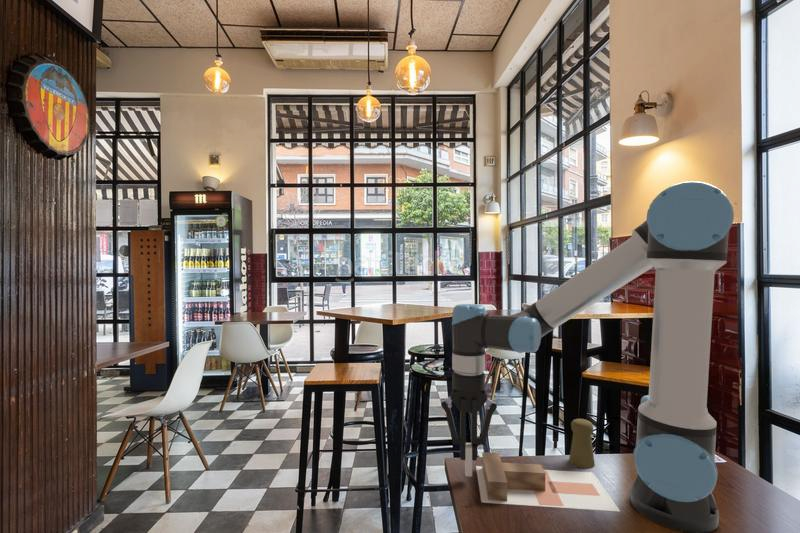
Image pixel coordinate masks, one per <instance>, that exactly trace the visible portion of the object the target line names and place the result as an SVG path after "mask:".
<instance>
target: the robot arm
mask: <svg viewBox="0 0 800 533" xmlns="http://www.w3.org/2000/svg"><path fill="white" fill-rule="evenodd" d="M734 213H735V212H734V207H733V204H732V203H731V200H730V199H729V198H728V196H727V194H726V193H724V192H723V190H721V189H720V188H718V187H716V186H715V185H712V184H710V183H707V182H703V181H696V180H695V181H683V182H678V183H676V184H673V185H670V186H669V187H667V188H665V189H664V190H663V191H660V193H658V194H657V195H656V197H654V199H652V201H651V203H650V204H649V208H648V209H647V212H646V220H645V221H644V222H642V223H641V224H640V225H639V226H637V227H635V228H634V229H633V230H632V232H631V236H630V238H628V239H627V240H625V241H624V242H622V243H621V244H619V245H617V247H615V248H613V249H612V250H610V251H609V252H607V253H605V254H604V255H603V256H602V257H600V258H598V259H597V260H596V261H594V262H593V263H591V264H589V265H588V266H587V267H585V268H583V269H582V270H580V271H579V272H578V273H577V274H575V275H573V276H572V277H571V278H569V279H568V280H566V281H564V282H563V283H562V284H561V285H559V286H557V287H556V288H555V289H553V290H552V291H549V293H547V294H546V295H544V296H543V297H541V298H539V299H538V300H537V301H535V302H534V303H532V304H530V305H529V306H527V307H526V308H524V309H523V310H522V311H520V312H516V313H514V314H511V315H498V314H497V315H495V314H489V313H487V311H486V307H485V306H484V305H482V304H475V303H465V304H464V303H461V304H456V305H454V307H453V309H452V318H451V320H452V322H451V326H452V327H451V328H452V330H451V331H452V332H451V333H452V339H451V340H452V353H451V355H452V356H451V363H452V364H451V366H452V367H451V369H452V370H453V372H452V375H451V378H452V379H451V381H452V383H451V386H452V387H451V391H450V394H449V396H448V397H447V398H442V399H441V400H440V404H441V405H440V406H441V407H442V409H443V411H444V412H445V416H446V420H447V423H448V428H449V432H450V436H451V441H452V443H453V444H455V445H458V446H459V447H460V448H459V456H460V460H461V461H464V475H465V477H473V461H477V459H478V447H479V446H484V445H485V444H486V441H487V438H488V433H489V429H490V425H491V423H492V422H491V421H492V418H493V417H492V416H493V414H494V413H495V411H496V409H497V408H498V406H497V402H496V401H495V400H491V399H490V398H488V394H487V392H486V374H485V371H486V349H493V350H502V351H506V352H507V351H508V352H516V353H518V354H519V353H520V354H523V353H530V354H533V353H536V352H537V351H538V350H539V347H540V345H541V340H542V338H543V337H544V336H546V335H547V334H548V333H550V332H552V331H554V329H556V328H558V327H559V326H562V325H563V324H564V323H566V322H567V321H569V320H571V319H573V317H575V316H577V315H578V314H581V313H582V312H583V311H585V310H587V309H588V308H590V307H591V306H593V305H594V304H596V303H598V302H599V301H601V300H603V299H604V298H607V296H610V295H611V294H613V293H614V292H615V291H616V292H617V290H619V289H621V288H622V287H624V286H625V285H627V284H628V283H630V282H632V281H633V280H635V279H636V278H638V277H640V276H641V275H643V274H645V273H646V272H648V271H649V270H651V269H652V268H654V270H655V278H654V280H655V281H654V294H653V295H654V296H653V313H652V314H653V315H652V330H651V331H652V332H651V347H650V348H651V350H650V363H649V364H650V365H649V366H650V367H649V381H648V382H649V384H648V385H649V386H648V387H649V388H648V394H647V395H643V396H642V397H641V399H640V404H639V406H638V408H637V410H638V411H637V425H636V440H635V442H636V443H635V448H634V449H633V454H632V455H633V456H632V457H633V463H634V466H635V469H636V471H637V473H636V475H635V477H634V480H633V482H632V485H631V487H630V503H631V505H632V507H634V509H635V510H636V511H637V512H639V513H640V514H641V515H642V516H643V517H644V518H647V519H648V520H650V521H652V522H654V523H657V524H659V525H661V526H664V527H666V528H669V529H671V530H676V531H680V532H684V533H685V532H686V533H710V532H713V531H715V530H717V529H718V527H719V521H720V519H719V518H720V517H719V515H720V512H719V510H718V506H717V504H716V500H715V497H714V495H713V491H714V490H715V488H716V484H717V480H718V476H719V474H718V468H717V465H716V458H715V457H716V442H717V423H718V422H717V420H715V418H714V417H713V416H712V415H711V414H710V413H709V411H708V407H707V404H708V392H709V391H708V389H709V388H708V386H709V370H710V355H711V341H712V340H711V338H712V320H713V304H714V290H715V273H716V272H717V270H720V268H721V267H723V266H724V265H726V264H727V262H728V260H727V259H728V246H729V235H730V234H729V232H730V229H731V228H732V225H733V223H734V219H735V218H734V217H735V216H734V215H735V214H734ZM452 403H453V404H454V406H455V407H456V409H457V410H458V411H459V436H458V432H457V429H456V425H455V421H454V417H453V412H452V409H451V408H452V405H453V404H452ZM484 405H485V413H484V417H483V420H482V424H481V427H480V428H481V429H480V432H479V436H478V412H479V411H480V410H481V409H482V407H483V406H484ZM467 413H470V425H471V426H470V428H471V429H470V434H471V435H470V438H471V439H470V441H471V442H466V440H467V423H466V420H467Z"/></svg>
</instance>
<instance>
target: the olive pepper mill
mask: <svg viewBox="0 0 800 533" xmlns="http://www.w3.org/2000/svg"><path fill="white" fill-rule="evenodd" d="M570 426H571V427H570V428H571V431H572V439H571V446H570V453H569V459H568V460H569V463H570V464H571V465H573V466H575V467H577V468H581V469H593V468H594V467H596V465H595V458H594V457H595V456H594V451H593V449H594V447H593V442H592V435H593V432H594V424H593V423H592V421H590V420H588V419H584V418H576V419H573V420H572V421H571V422H570Z"/></svg>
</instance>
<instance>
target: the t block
mask: <svg viewBox="0 0 800 533" xmlns="http://www.w3.org/2000/svg"><path fill="white" fill-rule="evenodd" d="M481 454H482V456H481V457H482V461H481V462H482V465H481V466H482V469H483V474H484V480H485V485H486V491H487V497H488V500H495V501H507V489H517V490H534V491H545V471H544V470H545V469H544V467H543V465H542V464H538V463H537V464H535V463H520V462H519V463H518V462H517V463H516V462H515V463H514V462H502V460H501V455H500V453H499V452H491V451H490V452H489V451H488V452H486V451H482V453H481Z"/></svg>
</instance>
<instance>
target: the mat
mask: <svg viewBox="0 0 800 533" xmlns="http://www.w3.org/2000/svg"><path fill="white" fill-rule="evenodd" d="M475 467H476V468H475V469H476V475H477V482H478V490H479V496H480V502H481V503H483V504H484V503H485V504H498V505H502V504H503V505H515V506H529V507H530V506H531V507H547V508H562V509H574V510H575V509H576V510H590V511H605V512H618V513H619V512H621V510H620V509H619V507H618V506H617V504H616V503H615V502H614V500H613V499H612V498H611V496H610V494H609V493H608V492H607V490H606V489H605V487H604V486H603V485H602V483H601V482H600V480H599V478H597V476H596V475H595V474H594V472H593V471H592V472H590V471H576V470H575V471H574V470H571V471H570V470H557V469H556V470H555V469H554V470H553V469H544V471H545V491H534V490H517V489H507V501H495V500H488V497H487V491H486V485H485V480H484V474H483V469H482V465H475Z"/></svg>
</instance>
